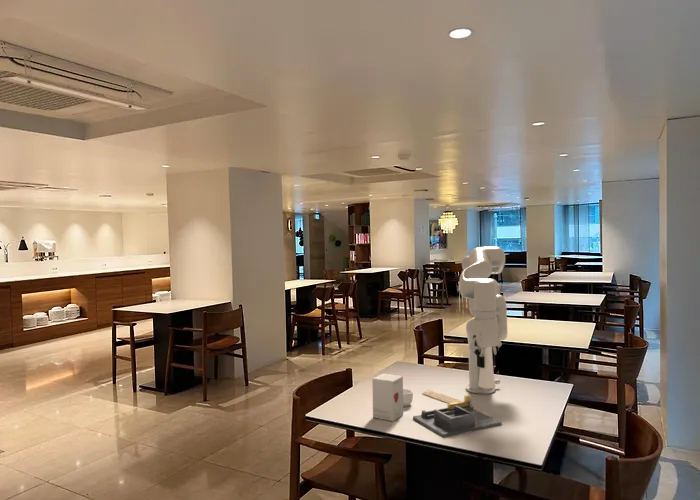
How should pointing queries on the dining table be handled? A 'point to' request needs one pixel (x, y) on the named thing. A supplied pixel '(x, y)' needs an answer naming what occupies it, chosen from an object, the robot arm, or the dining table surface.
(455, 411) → the cradle
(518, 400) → the dining table surface
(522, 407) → the dining table surface
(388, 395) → the supplement box
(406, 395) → the teacup
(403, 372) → the dining table surface
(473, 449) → the dining table surface
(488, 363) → the cosmetic bottle
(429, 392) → the newspaper
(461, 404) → the wooden block
